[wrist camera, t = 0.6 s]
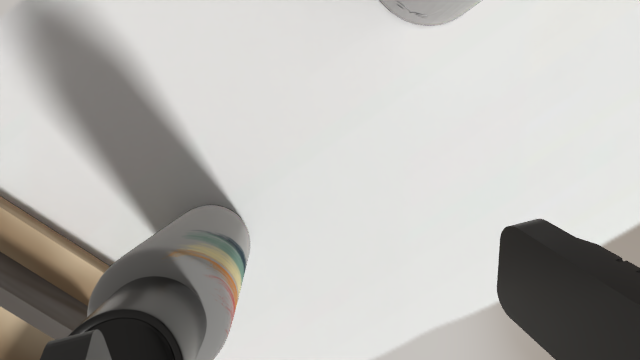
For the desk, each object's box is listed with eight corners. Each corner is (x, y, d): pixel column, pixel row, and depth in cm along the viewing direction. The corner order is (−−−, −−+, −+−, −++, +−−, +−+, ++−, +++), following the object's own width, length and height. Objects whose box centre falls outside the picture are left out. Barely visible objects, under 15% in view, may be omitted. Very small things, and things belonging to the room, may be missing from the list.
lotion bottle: (163, 271, 33) (-10, 457, 13) (182, 195, 32) (35, 265, 12) (240, 287, 33) (190, 489, 13) (259, 213, 33) (235, 307, 13)
